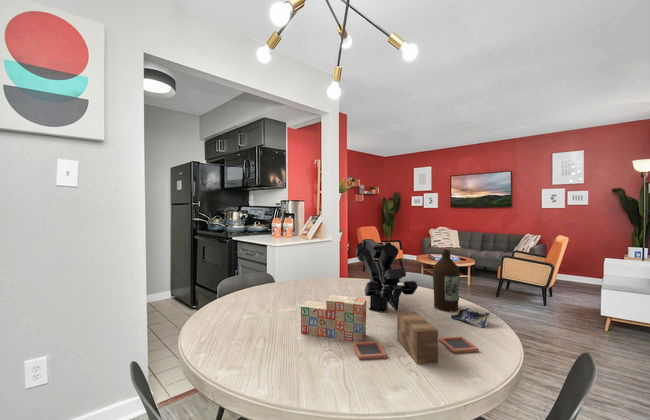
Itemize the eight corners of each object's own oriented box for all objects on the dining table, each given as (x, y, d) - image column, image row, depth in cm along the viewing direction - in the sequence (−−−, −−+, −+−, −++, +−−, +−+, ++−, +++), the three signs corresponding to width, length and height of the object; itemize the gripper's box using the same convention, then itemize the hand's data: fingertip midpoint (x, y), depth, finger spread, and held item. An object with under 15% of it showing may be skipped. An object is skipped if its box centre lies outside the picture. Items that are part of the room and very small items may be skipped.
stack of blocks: (300, 333, 95) (300, 297, 95) (307, 326, 101) (307, 292, 100) (363, 343, 88) (363, 304, 88) (366, 334, 94) (366, 298, 94)
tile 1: (352, 346, 86) (352, 342, 86) (377, 344, 87) (377, 341, 87) (359, 359, 78) (359, 356, 78) (386, 358, 79) (386, 354, 79)
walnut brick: (397, 340, 90) (397, 312, 90) (415, 339, 90) (415, 311, 90) (417, 364, 76) (417, 331, 76) (437, 363, 77) (438, 330, 77)
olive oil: (427, 304, 124) (427, 247, 124) (448, 302, 126) (448, 247, 126) (442, 313, 113) (443, 251, 113) (465, 311, 116) (465, 250, 116)
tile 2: (438, 340, 89) (438, 337, 89) (461, 339, 90) (461, 336, 90) (453, 353, 81) (453, 350, 81) (478, 351, 82) (478, 348, 82)
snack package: (460, 328, 100) (494, 329, 99) (458, 310, 101) (492, 310, 100) (448, 321, 111) (478, 321, 110) (446, 304, 112) (477, 304, 111)
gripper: (366, 260, 102) (376, 300, 91) (415, 259, 104) (430, 298, 93) (361, 276, 110) (369, 315, 99) (406, 275, 112) (419, 313, 101)
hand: (396, 310), depth 98 cm, fingers closed
